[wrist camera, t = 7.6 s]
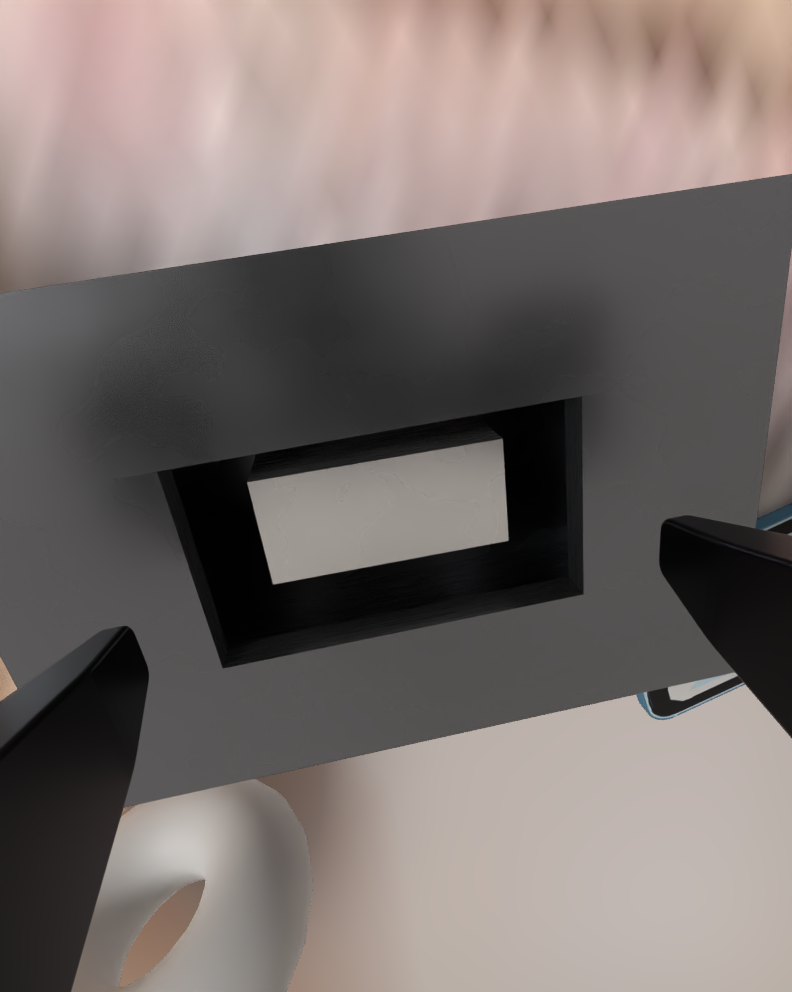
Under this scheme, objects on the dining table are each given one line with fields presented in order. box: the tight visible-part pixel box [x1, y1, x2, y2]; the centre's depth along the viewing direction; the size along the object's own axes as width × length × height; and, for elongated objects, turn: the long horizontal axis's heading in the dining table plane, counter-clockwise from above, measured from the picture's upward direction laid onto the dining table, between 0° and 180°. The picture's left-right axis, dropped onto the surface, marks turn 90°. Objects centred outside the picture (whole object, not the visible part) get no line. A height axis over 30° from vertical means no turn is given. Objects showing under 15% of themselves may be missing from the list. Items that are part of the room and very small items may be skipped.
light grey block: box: [247, 415, 509, 584], centre depth 14 cm, size 6×2×5 cm, turn 97°
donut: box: [71, 779, 313, 992], centre depth 17 cm, size 10×3×10 cm, turn 111°
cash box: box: [0, 174, 792, 808], centre depth 14 cm, size 16×11×7 cm
